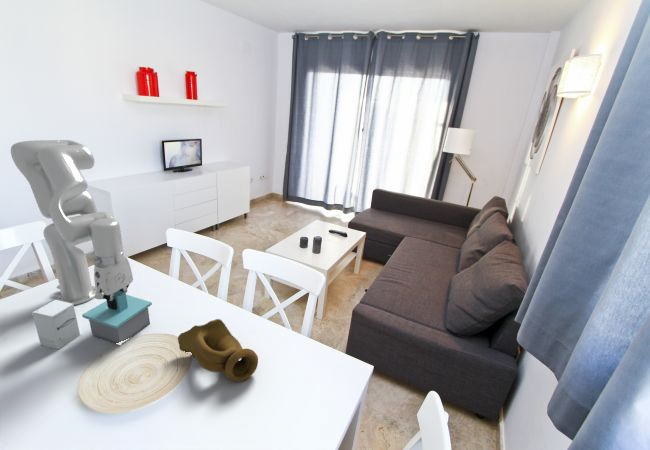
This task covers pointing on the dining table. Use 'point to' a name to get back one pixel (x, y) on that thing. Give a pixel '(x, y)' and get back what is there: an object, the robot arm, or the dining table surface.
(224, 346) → the brown looped sculpture
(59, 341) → the supplement box
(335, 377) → the dining table surface
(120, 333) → the tub
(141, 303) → the lid
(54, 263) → the robot arm
